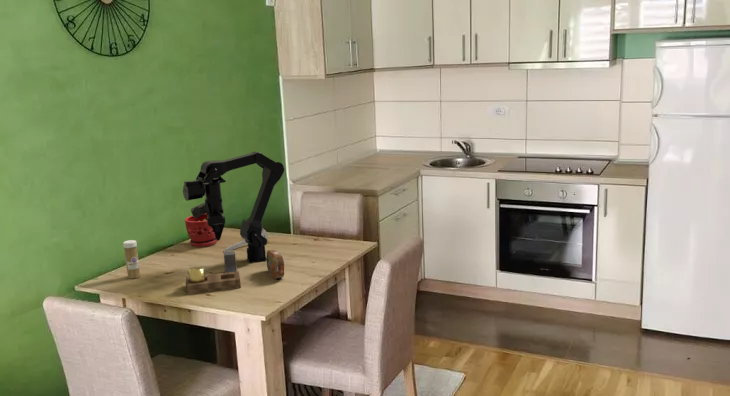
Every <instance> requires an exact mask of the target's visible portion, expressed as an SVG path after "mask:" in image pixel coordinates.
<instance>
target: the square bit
mask: <svg viewBox="0 0 730 396" xmlns="http://www.w3.org/2000/svg"><path fill="white" fill-rule="evenodd" d="M223 259H224V271H225V272H224V273H227V272H236V271H238V270H237V259H236V252H235V250H231V251H228V252H227V251H226V252H223Z"/></svg>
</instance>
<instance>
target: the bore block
mask: <svg viewBox="0 0 730 396" xmlns="http://www.w3.org/2000/svg"><path fill="white" fill-rule="evenodd" d="M204 276H205V281H204V282H202V283H194V284H193V283H191V282H190V276H186V277H185V294H186V295H191V294H199V293H208V292H215V291H224V290H232V289H241V286H242V284H241V277H240V271H239V270H237V271H236V272H227V273H226V272H220V273H211V274H204Z"/></svg>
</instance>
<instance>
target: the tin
mask: <svg viewBox="0 0 730 396" xmlns="http://www.w3.org/2000/svg"><path fill="white" fill-rule="evenodd" d="M266 268H267V271H268V273H269V274H270V275H271V276H272V277H273V278H274V279H275V280H277V279H282V278H284V276H285V261H284V258H283V255H282V254H280V253H279V252H278V251H277V250H276V249H274V250H267V252H266Z"/></svg>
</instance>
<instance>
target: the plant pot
mask: <svg viewBox="0 0 730 396" xmlns="http://www.w3.org/2000/svg"><path fill="white" fill-rule="evenodd" d="M184 223H185V228H186V232H187V235H188V237H189V238H190V240H189V244H190V245H191V246H193V247H196V248H206V247H212V246H213V245H215V244H216V243H217V242H218V241H217V240H216V237H215V234H214V230H213V228H212V227H210V226H209V225H208V222H207V214H206V213H205V214H203V215H201V216H199V217H198V218H196V219H195V218H194V217H193V215H190V216H188V217H186V218H185V219H184Z"/></svg>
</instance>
